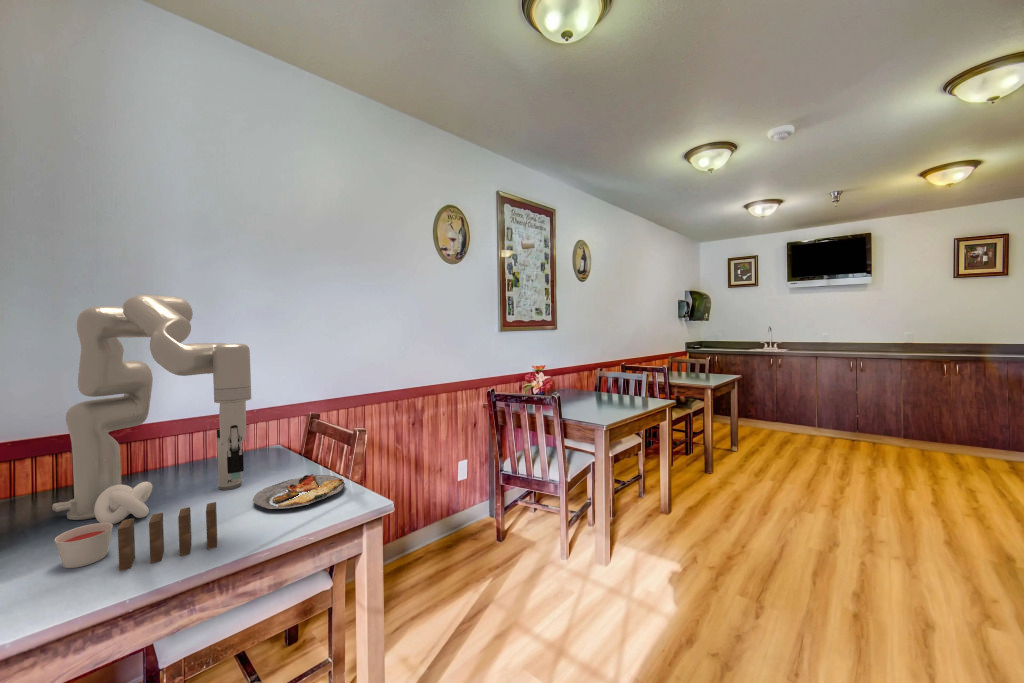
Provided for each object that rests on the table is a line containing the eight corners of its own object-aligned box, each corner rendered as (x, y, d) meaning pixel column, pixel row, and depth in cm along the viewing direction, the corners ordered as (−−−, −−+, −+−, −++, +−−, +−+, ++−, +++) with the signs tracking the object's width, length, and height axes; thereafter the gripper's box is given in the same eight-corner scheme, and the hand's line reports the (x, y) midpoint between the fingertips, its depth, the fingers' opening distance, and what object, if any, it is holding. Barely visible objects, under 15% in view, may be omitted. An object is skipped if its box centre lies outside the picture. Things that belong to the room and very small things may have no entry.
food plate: (315, 476, 144) (315, 466, 144) (360, 489, 132) (360, 478, 132) (237, 504, 123) (237, 493, 122) (283, 523, 111) (282, 510, 110)
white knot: (164, 515, 115) (163, 482, 115) (106, 533, 105) (104, 498, 104) (147, 506, 121) (146, 476, 121) (90, 523, 110) (89, 490, 110)
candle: (124, 548, 97) (123, 522, 97) (86, 571, 88) (85, 541, 88) (85, 550, 97) (83, 523, 96) (42, 572, 88) (41, 543, 87)
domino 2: (150, 563, 91) (148, 522, 90) (154, 553, 95) (152, 514, 94) (161, 560, 92) (159, 520, 91) (164, 551, 96) (162, 512, 95)
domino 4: (207, 549, 96) (205, 511, 96) (208, 540, 100) (206, 503, 100) (216, 547, 97) (215, 509, 97) (217, 538, 101) (216, 501, 101)
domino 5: (231, 479, 99) (230, 442, 98) (231, 474, 103) (230, 437, 102) (240, 478, 100) (239, 440, 99) (240, 472, 104) (239, 436, 103)
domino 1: (119, 571, 88) (117, 529, 88) (124, 560, 92) (122, 520, 92) (130, 568, 89) (129, 526, 89) (135, 557, 93) (133, 518, 93)
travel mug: (234, 490, 132) (232, 427, 132) (213, 490, 132) (211, 428, 132) (247, 483, 139) (245, 423, 138) (227, 483, 139) (225, 423, 138)
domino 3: (179, 556, 93) (178, 516, 93) (181, 546, 97) (180, 508, 97) (189, 553, 94) (188, 514, 94) (191, 544, 98) (190, 507, 98)
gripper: (215, 392, 106) (217, 463, 106) (212, 400, 91) (215, 482, 92) (250, 389, 110) (252, 457, 110) (252, 397, 96) (255, 475, 96)
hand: (235, 468), depth 101 cm, fingers closed on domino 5, 4 cm apart
